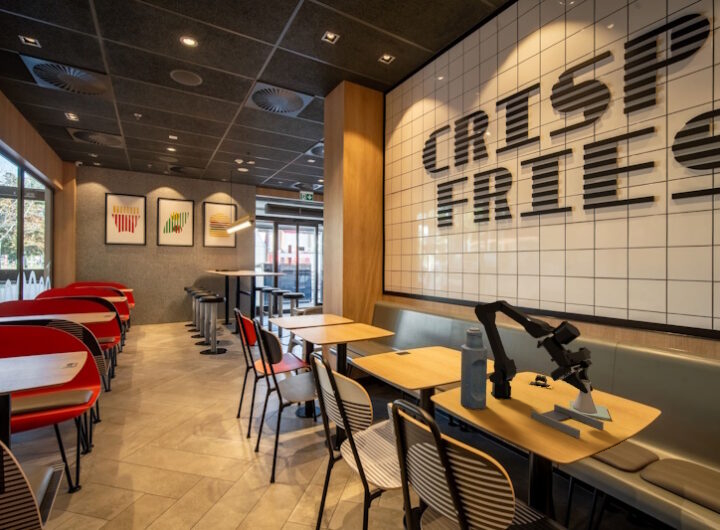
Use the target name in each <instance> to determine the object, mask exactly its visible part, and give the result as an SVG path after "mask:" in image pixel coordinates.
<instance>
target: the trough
mask: <svg viewBox="0 0 720 530" xmlns="http://www.w3.org/2000/svg"><path fill="white" fill-rule="evenodd" d="M553 405H554V406H553V409H552V410H550V411H546V412H541V413H540V412H538V411H535V410H530V419H533V420H534V421H537V422H539V423H541V424H544V425H546V426H548V427H550V428H553V429H556V430H558V431H560V432H562V433H563V434H567V435H569V436H571V437H574V438H576V439H577V440H578V439H581V430H580V429H578V428H575V427H573V426H571V425H568V424H566V423H563V422H562V421H566V420H569V419H573V420H574V421H578V422H580V423H583V424H586V425H588V426H590V427H592V428H595V429H598V430H599V431H603V430H604V421H601V420H600V419H597V418H592V417H589V416H586V415H583V414H581V413H578V412H576V411H573V410H571V409H570V408H567V407H564V406H562V405H559V404H557V403H554V404H553Z"/></svg>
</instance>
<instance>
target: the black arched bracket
mask: <svg viewBox="0 0 720 530" xmlns="http://www.w3.org/2000/svg"><path fill="white" fill-rule="evenodd" d="M531 382H532V383H530V382H529V383H530V384H529V383H528V385H530V386H533V385H534V387H538V386H541V387H540V388H543V387H549V386H550V385H551V384H547V383H548V379H547V375H546V376H545V375H540V374H537V375H536V376H535V379H534V381H531Z"/></svg>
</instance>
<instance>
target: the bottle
mask: <svg viewBox="0 0 720 530" xmlns="http://www.w3.org/2000/svg"><path fill="white" fill-rule="evenodd" d="M465 335H466V339H465V344H462V345H461V346H460V347H461V351H460V352H461V355H460V356H461V358H460V400H459V401H460V405H461V406H462V405H463V406H462V407H463V408H466V407H467V408H466V409H469V408H470V409H469V410H474V409H480V410H484V409H485V408H486V407H487V385H488V384H487V376H488V375H487V374H488V347H486V346H485V345H484V341H483V331H482V330H481V329H480V328H479V327H469V328H468V329H467V330H466V333H465Z"/></svg>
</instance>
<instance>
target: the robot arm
mask: <svg viewBox="0 0 720 530" xmlns="http://www.w3.org/2000/svg"><path fill="white" fill-rule="evenodd" d="M473 311H474V314H475V317H476V318H477V320H478V321H479V322H480V323H481V324H482V325H483V329H484V331H485V334H486V337H487V340H488V342H489V343H488V344H489V346H490V349H491V352H492V356H493V358H494V361H493V372H492V373H491V374H490V375H489V376H488V379H489V382H490V383H491V386H492V387H491V391H490V394H491V395H492V396H493V397H495V398H494V399H496V400H497V399H498V400H512V386H511V382H513V380H514V378H515V377H516V376H517V370H518V368H517V366H516V363H515V359H513V358H511V359H510V357H508V356H507V354H506V351H505V348H504V344H503V341H502V339H501V336H500V334H499V330H498V327H497V324H496V320H497V319H496V318H497V313H498V312H501V313H502V314H504V315H505V316H507V317H508V318H509V319H511V320H513V321H514V322H516V323H517V324H519V325H520V326H522V327H523V329H524V330H525V332H526V333H527V334H528V335H530V337H532V338H534V339H540V340H537V345H536V348H537V349H540V348H544V350H545V351H546V352H547V353H548V355H549V356H550V357H551V359H550V361H551V362H552V363H553V362H554V363H555V364H556V365H557V366H558V367H556V369H554V370H553V371H551V372H550V378H551V379H552V380H553V382H557V381H559V380H560V379H561V377H563V378H562V379H561V381H562V382H564V383H567V384H569V385H570V386H571V387H574V388H575V389H577V390H579V391H582V392H584V393H585V394H587V393H588V390H587V388H586V387H585V385H584V384H583V382H582V381H581V380H588V381H590V379H589V376H588V370H589V367H591V366H593V364H594V363H593V362H592V361H591V360H590V359H592V357H591V354H592V352H591V351H590V349H589V348H587V347H586V346H582V347H578V351H572V350H571V349H566V348H565V346H564V345H566V346H568V345H569V344H571V343H572V342H573V341H575V340H577V338H580V336H581V332H580V330H579V328H578V327H576V326H575V325H574V324H572V323H571V322H570V323H569V321H567V320H563V321H562V322H560V324H559V325H558V326H557V327H555V326H553V325H550V324H549V323H548V322H547V321H544V320H542V319H540V318H535V317H532V316H530V315H528V314H527V313H525V312H523V311H522V310H520V309H518V308H517V307H515V306H513V305H512V304H510V303H509V302H507V300H504V299H502V300H501V299H499V300H495V301H493V302H490V303H489V302H486V303H479V304H477V305H475V307H474V309H473ZM541 338H543V339H542V340H541ZM590 391H591V393H592V392H593V391H594V388H593V386H592V383H591V384H590Z"/></svg>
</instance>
